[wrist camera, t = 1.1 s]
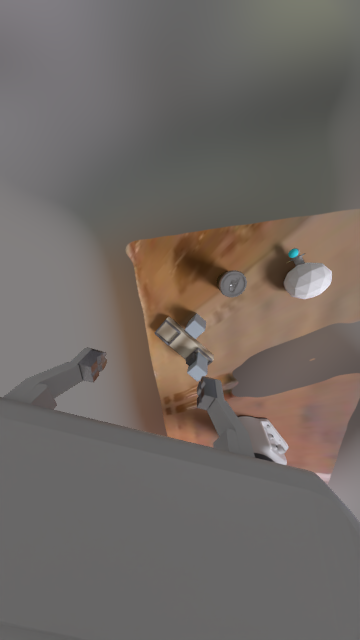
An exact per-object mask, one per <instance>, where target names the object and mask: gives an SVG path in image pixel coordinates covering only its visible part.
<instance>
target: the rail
mask: <svg viewBox="0 0 360 640" xmlns="http://www.w3.org/2000/svg"><path fill="white" fill-rule="evenodd" d="M155 335H157V336H158V337H159V338H160V339H161V340H162V341H164V342H165V343H166V344H167V345H169V346H170V347H171V348H173V349H174V350H175V351H176V352H177V353H178V354H180V355H181V356H182V357H183V358H184V359H185V360H186V361H187V358H188V357H189V356H190V355H191V354H193V353H194V354H196V353H197V352H200V353H201V354H202V355H203V356H204V357H205V358H207V359H208V364H207V366H208V365H209V364H210V363H211V362H212V360H213V359H214V356H213V354H212V353H211V352H210V351H208V350H207V349H206V348H205V347H204V346H203V345H202V344H200V343H199V342H198V341H197V340H196V339H195V338H193V337H192V338H191V337H190V336H189V335H188V334H187V333H186V332H185V331H184V329H183V328H182V327H181V326H180V325H179V324H177V323H176V322H175V321H174V320H173V319H172V318H171V317H168V318H167V319H166V320H165V321H164V322H163V323H162V324H161V326H160V327H159V328H158V329H157V330H156V332H155Z"/></svg>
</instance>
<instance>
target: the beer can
mask: <svg viewBox="0 0 360 640" xmlns="http://www.w3.org/2000/svg"><path fill="white" fill-rule="evenodd" d="M246 285H247V281H246V277H245V276H244V274H243V273H241V272H239V271H228V272H224V273H222V274H221V275H220V276H219V277H218V279H217V287H218V288H219V290H220V291H221V293H222V294H223V295H225V296H227V297H236V296H238V295H240V294H242V293H243V291H244V290H245V288H246Z"/></svg>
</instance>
